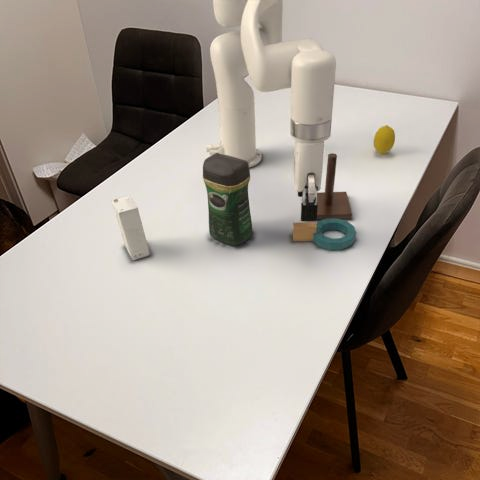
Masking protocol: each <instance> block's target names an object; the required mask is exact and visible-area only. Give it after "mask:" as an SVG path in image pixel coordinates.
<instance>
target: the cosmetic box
mask: <svg viewBox="0 0 480 480" xmlns="http://www.w3.org/2000/svg"><path fill="white" fill-rule="evenodd" d="M111 204H112V209H113V211H114V214H115V218H116V221H117V224H118V228H119V230H120V233H121V237H122V240H123V244H124V247H125V249H126V250H127V253H128V254H129V256H130V258H131V260H132V261H135V260H140V259H143V258H146V257H148V256H151V255H150V254H151V252H150V249H149V245H148V241H147V237H146V235H145V234H146V233H145V229H144V225H143V222H142V218H141V216H140V211H139V207H138V206H137V205H136V203H135V201H134V200H133V199H132V197H131V195H125V196H122V197H119V198H115V199H112V200H111Z"/></svg>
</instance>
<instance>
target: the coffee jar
mask: <svg viewBox="0 0 480 480" xmlns="http://www.w3.org/2000/svg"><path fill="white" fill-rule="evenodd" d="M202 180H203V183H204V185H205V189H206V195H207V207H208V232H209V235H210V237H211V238H212V239H214V240H216V241H218V242H220V243H223V244H226V245H229V246H232V247H233V246H234V247H235V246H238V245H241V244H244V243H246V242H247V241H248V240H249V239H250V238H251V237H252V236H253V231H254V230H253V221H252V215H251V207H250V199H249V183H250V181H251V170H250V168H249V165H248V162H247V161H245V160H242V159H239V158H235V157H232V156H228V155H223V154H219V153H215V154H213V155H209V156H208V157H207V158H205V159H204V161H203V164H202Z"/></svg>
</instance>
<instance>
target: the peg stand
mask: <svg viewBox="0 0 480 480" xmlns="http://www.w3.org/2000/svg"><path fill="white" fill-rule="evenodd" d="M337 161H338V155H337V154H336V153H334V152H333V153H328V154H327V163H326V174H325V185H324V191H321V192H319V191H318V192H317V202H318V208H317V220H316V221H322V220H324V219H341V220H352V218H353V212H352V208H351V203H350V201H349V197H348V193H347V191H335V180H336V171H337Z"/></svg>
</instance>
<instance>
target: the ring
mask: <svg viewBox="0 0 480 480" xmlns="http://www.w3.org/2000/svg"><path fill="white" fill-rule="evenodd" d="M333 230H335V231H339V232H341V233H343V234H344V236H342V237H329V236H325V234H323V233H324V232H326V231H327V232H328V231H333ZM356 235H357V232H356V227H355V225H353V224H352V223H350V221H348V220H346V219H344V220H341V219H324V220H318V221H317V222H316V221H304V222H303V221H301V222H293V223H292V242H313V243H314V244H316V245H317V246H318V247H319V248H321V249H325V250H328V251H342V250H344V249H347V248H350V247H351V246H352V245H353V244H354V242H355V241H356Z"/></svg>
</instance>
